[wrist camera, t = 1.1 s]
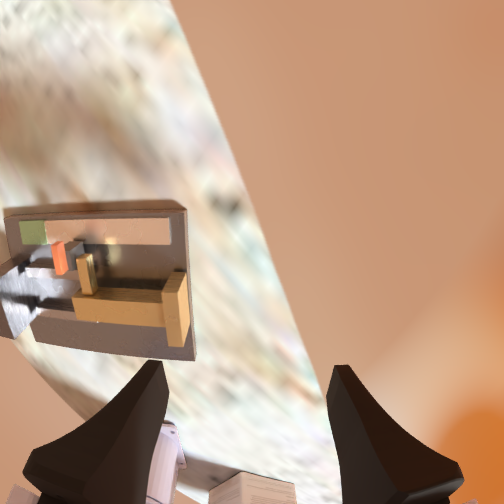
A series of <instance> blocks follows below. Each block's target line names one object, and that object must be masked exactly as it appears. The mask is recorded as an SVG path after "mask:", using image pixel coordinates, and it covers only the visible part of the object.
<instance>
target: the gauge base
mask: <svg viewBox="0 0 504 504" xmlns="http://www.w3.org/2000/svg"><path fill="white" fill-rule="evenodd" d="M4 223H5V229H6V235H7V240H8V245H9V250H10V255H11V259H10V260H8V261H7V262H5V263H4V264H2V265H1V266H0V336H2V337H6V338H10V339H14V340H15V339H16V338H17V337H18V335H19V334H20V333H21V332H22V331H23V330H24V329H25V328H26V327H27V326H28V325H29V324H30V326H31V329H32V332H33V335H34V338H35V340H36V342H41V343H46V344H52V345H57V346H63V347H69V348H75V349H81V350H88V351H94V352H102V353H109V354H117V355H126V356H135V357H145V358H156V359H168V360H182V361H195V359H196V354H197V353H196V343H195V332H194V321H193V309H192V296H191V281H190V265H189V246H188V224H187V209H162V210H113V211H84V212H61V213H42V214H25V215H11V216H8V217H6V218H4ZM57 241H63V242H64V245H65V244H66V243H68V242H69V241H83V247H84V253H85V254H92V257H93V263H94V269H95V274H96V280H97V285H98V287H108V288H126V289H147V290H163V288H164V286H165V284H166V282H167V280H168V278H169V276H170V275H171V273H172V272H186V276H187V290H188V303H189V314H190V325H189V328H188V332H187V336H186V339H185V343H184V347H172V346H168V340H167V333H166V327H152V326H139V325H126V324H115V323H104V322H95V321H86V320H77V317H76V314H75V310H74V306H73V302H72V298H71V297H72V296H73V295H74V294H75V293H76V292H77V291H78V290H79V289H80V288H81V283H80V279H79V274H78V268H76V269H75V270H74V271H66V272H65V273H64V274H63V275H56V271H55V266H54V261H53V256H52V251H51V245H52V244H54V243H55V242H57Z"/></svg>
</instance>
